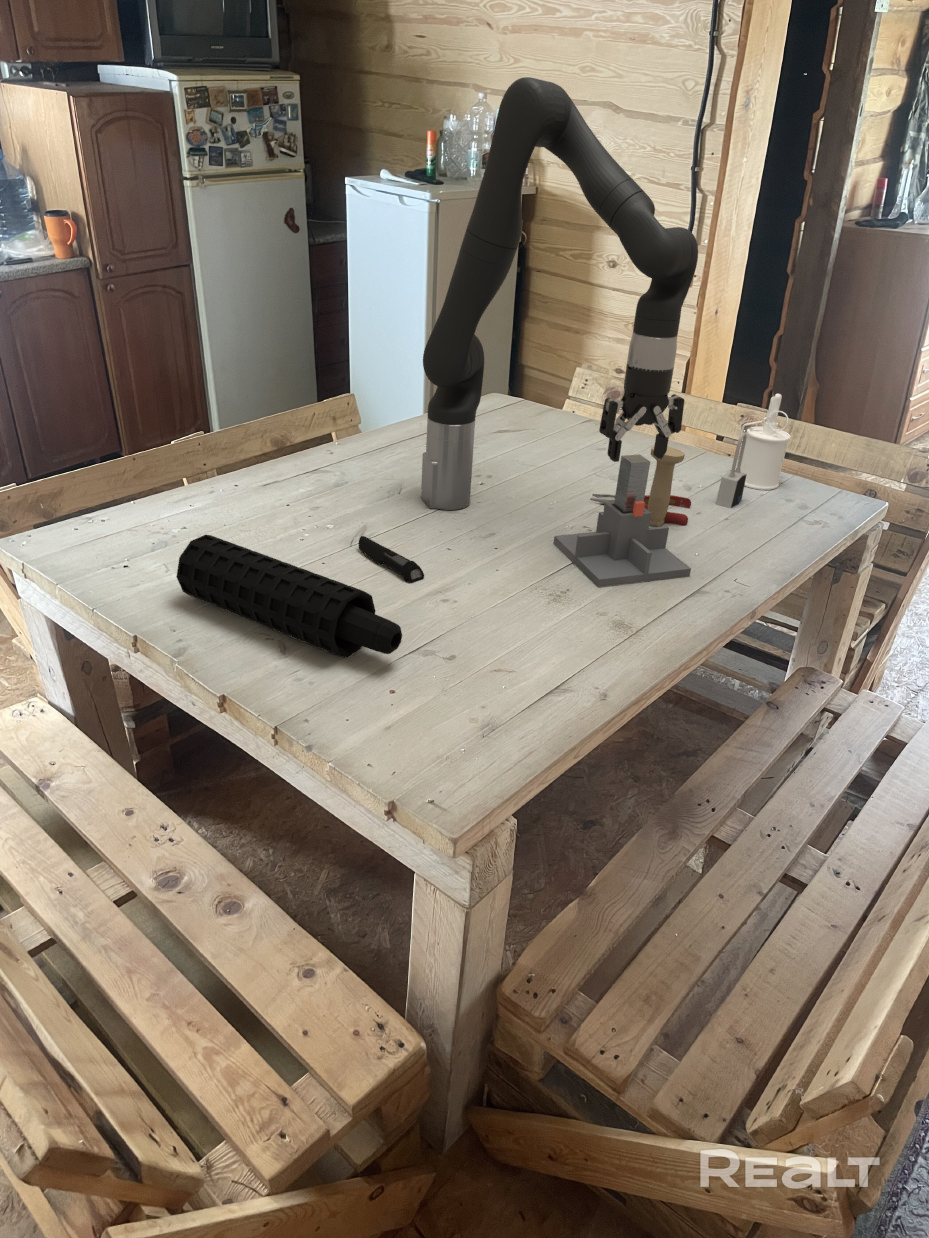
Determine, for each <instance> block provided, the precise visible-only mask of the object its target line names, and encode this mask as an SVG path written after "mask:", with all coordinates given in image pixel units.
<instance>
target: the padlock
mask: <svg viewBox="0 0 929 1238" xmlns="http://www.w3.org/2000/svg"><path fill="white" fill-rule="evenodd" d="M746 439H747V432H743V433H742V434H741V433H740V436H739V438H738V440H737V444H736V448H735V451H734V457H733V461H732V467H731V470H728V471H726V472H725V473H724V474H723V475H722V476H721V479H720V484H719V487H718V488H719V489H718V492H717V497H716V501H715V505H717V506H721V507H725V508H728V509H732V508H734V507H736V506H737V505H739V503H740V502H741V501H742V499H743V495H744V490H745V486H744V485H745V480H746V476H747V474H746V473H742V472H741V469H740V467H741V462H742V458H743V453H744V449H745V444H746Z"/></svg>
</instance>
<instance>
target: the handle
mask: <svg viewBox="0 0 929 1238" xmlns="http://www.w3.org/2000/svg"><path fill="white" fill-rule="evenodd" d="M653 452H654V446H651V450H650V455H651V457H652V458H654V460H656V466H655V470H654V475H653V480H652V484H651V488H650V491H649V495H650V496H649V501H648V511H650V512H651V513H652V514H651V519H650V525H649V526H652V527H653V526H654V527H662V526H664V520H665V519H664V518H665V516H666V513H667V512H668V509H669V506H670V505H669V501H670V495H672V487H673V486H672V485H673V478H674V477H673V476H674V471H675V467H676V465H677V464H679V463H682V462H683V461H684V460H685V456H686V453H685V452H684V451H682V450H681V449H678V448H675V447H671V446H667V451H666V453H665V454H664V456H663V458H657V457H656V456H654V454H653Z"/></svg>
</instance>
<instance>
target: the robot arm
mask: <svg viewBox="0 0 929 1238" xmlns="http://www.w3.org/2000/svg"><path fill="white" fill-rule="evenodd" d="M493 128H494V129H493V133H492V139H491V143H490V147H489V152H488V156H487V160H486V165H485V168H484V172H483V176H482V179H481V182H480V186H479V189H478V192H477V196H476V198H475V199H476V200H475V203H474V206H473V209H472V212H471V214H470V218H469V221H468V223H467V226H466V230H465V233H464V236H463V239H462V242H461V245H460V248H459V251H458V252H459V253H458V255H457V259H456V263H455V265H454V269H453V271H452V275H451V278H450V281H449V285H448V289H447V292H446V295H445V298H444V302H443V303H442V307H441V309H440V312H439V314H438V317H437V319H436V321H435V324H434V326H433V328H432V331H431V333H430V335H429V338H428V340H427V342H426V344H425V347H424V351H423V354H422V355H423V356H422V367H423V371H424V374H425V376H426V378H427V379H428V380H429V382H430V383H431V384H433V385H434V386H436V390H435V392H434V394H433V395H432V397H431V398H430V400H429V401H428V404H427V419H426V422H427V424H426V443H425V447H426V448H425V452H423V453H422V460H421V462H422V463H421V465H422V466H421V483H420V484H421V485H420V486H421V487H420V488H421V491H420V499H422V500H423V502H424V503H425V505H426V506H427V507H428V509H431V510H432V509H437V510H445V511H453V510H461V509H465V508H466V507H468V506H469V505H470V503H471V496H472V494H471V491H472V488H471V487H472V476H473V459H474V447H475V446H474V444H475V431H476V430H475V428H476V416H477V415H476V414H477V410H478V407H479V405H480V403H481V399H482V398H481V397H482V390H483V382H484V372H485V371H484V370H485V351H484V348H483V347H484V346H483V345H482V342H481V340H480V338H478V336H477V335H476V330H477V328H478V325H479V322H480V321H481V318H482V317H483V315H484V313H485V311H486V310H487V308H488V306H489V305H490V304H491V302H492V301H493V299H494V298H495V296H496V295H497V293H498V292H499V290H500V289H501V288H502V285H503V283H504V281H505V280H506V279H507V276H508V273H510V269H511V268H512V265H513V261H514V258H515V256H516V253H517V250H518V247H519V245H520V241H521V236H522V232H523V231H522V230H523V212H522V211H523V210H522V190H523V189H522V188H523V183H524V179H525V175H526V172H527V168H528V166H529V163H530V160H531V157H532V156H533V152H534V150H535V148H544V149H546V150H547V151H548V152H550V153H551V154H552V155H554V156H555V157H556V158H558V159H559V160H560V161H561V162H563V163H564V164H565V166H567V168H568V169H569V171H571V172H572V174H573V175H574V177H575V179H576V180H577V182H578V185H579V187H580V189H581V191H582V193H583V196H584V197H585V199H586V201H587V202H588V204H589V206H590V207H592V209H593V211H594V212H595V213H596V214H597V215H598V216H599V218H601V219H602V221H603V222H604V223H605V224H606V225H607V226H608V227H609V228H610V230H612V231H613V232H614V233H615V234H616V235H617V238H619V241H620V243H621V245H622V247H623V249H624V250H625V253H626V254H627V256H628V258H629V259H630V260H631V262H632V263H633V265H634V267H636V269H637V270H639V271H640V272H641V273H642V274H643V275H644V276H646V277H648V278H650V279H651V282H650V284H649V287H648V289H647V290H646V291H645V293H643V294H642V295H641V296H640V297H639V299H638V301H637V303H636V309H635V313H634V322H633V328H632V333H631V338H630V342H629V346H628V351H627V353H628V354H627V360H626V366H625V368H626V369H625V375H624V380H623V381H624V382H623V395H622V398H621V399H612V398H611V397H606V398H604V399H605V400H604V403H603V408H602V414H601V419H600V423H599V429H598V430H599V431H598V432H599V433H600V434H601V435H603V436H605V437H606V438H607V439H609V440H608V447H607V456H608V457H609V460H611V461H612V462H613V463H615V462H617V463H618V462H619V461H620V459H621V450H622V444H623V441H622V438H623V437H624V436H625V435H626V434H627V432H629V431H631V430H632V428H633V427H634V426H637V427H638V426H642V425H647V426H653V425H654V427H655V429H656V430H657V432H658V433H656V435H655V440H654V446H653V447H654V452H653V454H654V456H656V457H657V458H663V456H664V454H665V453H666V451H667V447H668V446H669V438H670V436H671V435H673V434H675V433H676V434H678V433H680V432H681V430H682V426H683V425H682V424H683V416H684V408H685V398H683V397H681V396H680V395H678V394H676V393H673V394H672V395H670V396H669V393H670V392H671V386H672V381H673V375H674V370H675V369H674V368H675V362H676V356H677V350H678V349H677V348H678V334H679V328H680V322H681V315H682V308H683V305H684V303H685V299H686V298H687V295H688V294H689V290H690V287H691V284H692V281H693V278H694V276H695V273H696V270H697V264H698V259H699V246H698V242H697V238H696V236H695V235H694V233H692V231H691V230H689V229H688V228H685V227H679V226H676V227H675V226H674V227H665V226H663V225H662V224H661V223H660V222H659V220H658V219H657V218H656V217H655V212H656V207H655V204H654V202H653V200H652V198H651V197H650V195H648V194H647V193H646V192H645V191H644V190H643V188H641V186H640V185H639V184H638V183H637V182H636V181H635V180H634V179H633V178H632V177H631V176H630V175H629V174H628V173H627V171H625V169H623V168H622V165H619V163H618V162H617V161H616V160H615V159H614V157H613V156H612V155H611V154H610V153H609V152H608V151H607V149H606V148H605V147H604V146H603V144H602V143H601V141H600V140H599V139H598V137H597V136H596V135H595V133H594V132H593V130H592V129H591V128H590V126H589V125H588V123H587V121H586V120H585V119H584V117H583V116H582V114H581V112H580V110H579V109H578V107H577V106H576V104H575V103H574V102H573V100H572V98H571V97H570V96H569V94H568V93H567V91H566V90H565V89H564V88H563V87H562V86H561V85H559V84H557V83H555V82H551V81H547V80H543V79H539V78H535V77H529V76H526V77H521V78H518V79H516V80H514V81H513V82H512V83H511V84H510V85H509V86H508V87H507V89H506V91H505V92H504V94H503V96H502V98H501V102H500V104H499V108H498V111H497V116H496V119H495V125H494V127H493ZM667 408H668V418H667V420H666V417H665V415H664V412H665V410H666V409H667ZM620 409H621V410H622V411H621V413H620V414H619V412H620ZM617 414H619V415H618V416H617ZM626 420H627V421H626Z"/></svg>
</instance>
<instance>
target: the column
mask: <svg viewBox="0 0 929 1238" xmlns="http://www.w3.org/2000/svg"><path fill="white" fill-rule="evenodd" d="M650 466H651V461H650V460H649V459H648V458H646V457H644V456H643V455H641V454H640V453H639V454H627V455H620V464H619V469H618V476H617V481H616V482H617V483H616V490H615V494H614V495H615V501H614V507H615V508H616V509H618V510H619V511H620V512H621V513H623V514H625V513H633V508H634V502H638V501H643V502H644V497H645V495H646V489H647V484H648V478H649V473H650V472H649V471H650Z"/></svg>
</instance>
